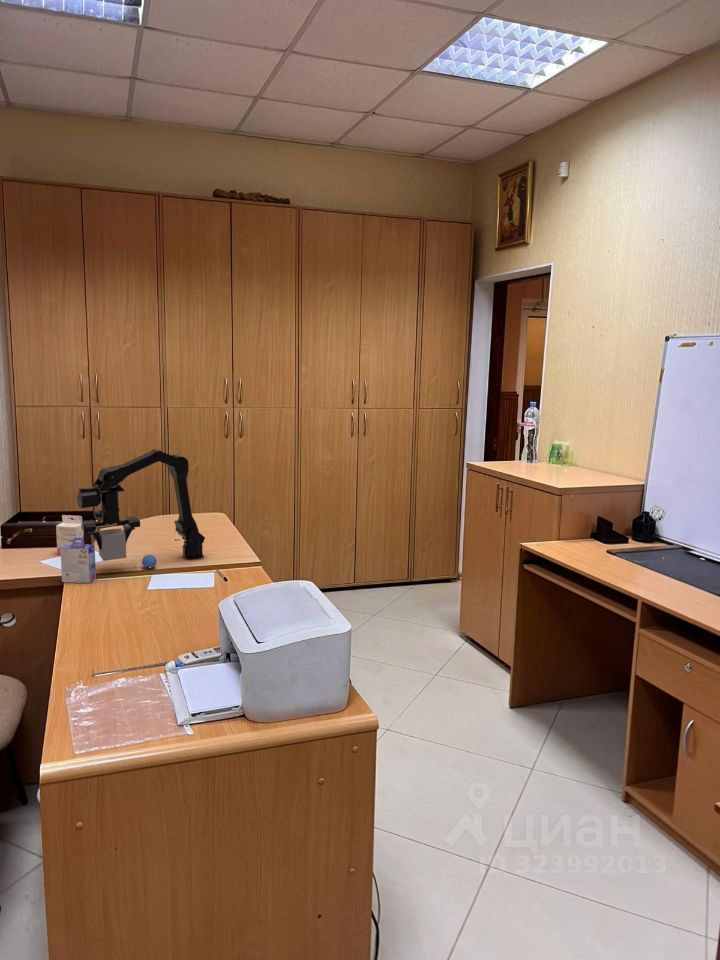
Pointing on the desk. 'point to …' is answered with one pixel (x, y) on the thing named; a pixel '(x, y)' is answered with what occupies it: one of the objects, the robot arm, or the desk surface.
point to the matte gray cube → (112, 544)
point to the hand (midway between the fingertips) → (112, 547)
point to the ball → (149, 561)
